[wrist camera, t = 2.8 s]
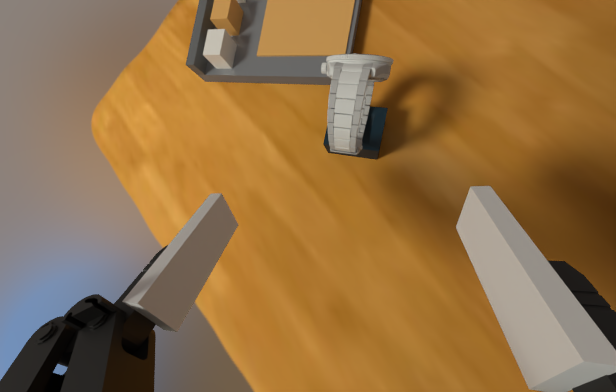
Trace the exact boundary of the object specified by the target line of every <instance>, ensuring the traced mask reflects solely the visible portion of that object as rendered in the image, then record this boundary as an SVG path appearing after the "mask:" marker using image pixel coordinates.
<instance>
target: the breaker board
mask: <svg viewBox="0 0 616 392" xmlns="http://www.w3.org/2000/svg"><path fill="white" fill-rule="evenodd" d="M361 3H362V0H199V5H198V10H197V14H196V19H195V24H194V28H193V33H192V38H191V43H190V47H189V52H188V57H187V61H186V65H187V66H188V67H189V68H190V69H191V70H193V71H194V72H195V73H196V74H197V75H198V76H200V77H201V78H202V79H203V80H204V81H206V82H243V83H280V84H317V85H331V80H332V79H331V78H329V77H328V76H327V74H322V73H321V65H322V63H328V62H327V61H326V59H327V57H328V56H331V55H339V54H353V48H354V42H355V37H356V31H357V25H358V20H359V14H360V9H361Z"/></svg>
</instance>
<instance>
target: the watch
mask: <svg viewBox="0 0 616 392" xmlns="http://www.w3.org/2000/svg"><path fill="white" fill-rule="evenodd" d="M326 61H327V62H328V63H322V65H321V73H322V74H327V76H328V77H329V78H331V79H332V80H331V86H330V94H329V102H328V117H327V121H328V125H327V130H326V134H325V139H324V146H325V148H326V149H327V151H328V153H334V154H341V155H348V156H355V157H362V158H370V159H377V158H378V153H379V149H380V144H381V139H382V134H383V129H384V124H385V119H386V114H387V109H388V108H381V107H370V103H371V98H372V92H373V86H374V82H382V81H385V80H387V79H388V77H389V75H390V69H391V65H392V64H393V59H391V58H388V57H384V56H378V55H369V54H357V53H354V54H339V55H331V56H328V57H327V59H326ZM337 98H339V99H337Z"/></svg>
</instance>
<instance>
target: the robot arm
mask: <svg viewBox="0 0 616 392" xmlns="http://www.w3.org/2000/svg"><path fill="white" fill-rule="evenodd" d="M237 226H238V223H237V221H236V220H235V218H234V216H233V214H232V212H231V210H230V208H229V206H228V205H227V203H226V201H225V199H224V197H223V195H222V193H221V194H210V195H209V197H208V198H207V199H206V200H205V201H204V203H203V204H202V205H201V206H200V208H199V209H198V210H197V211H196V212H195V214H194V215H193V216H192V217H191V218H190V220H189V221H188V222H187V223H186V225H185V226H184V227H183V228H182V229H181V231H180V232H179V233H178V234H177V235H176V237H175V238H174V239H173V240H172V242H171V243H170V244H169V245H167V246H165V247H164V248H163V249H162V250H161V251H159V252H158V253H157V254H156V255H155V256H154V257H153V259H152V260H151V261H150V263H149V264H148V265H147V266H146V267H145V268H144V269H143V272H141V273H140V274H139V275H138V277H137V278H136V279H135V280H134V281H133V282H132V284H131V285H130V286H129V287H128V288H127V290H126V291H125V292H124V293H123V294H122V295H121V297H120V298H119V299H118V300H117V301H116V302H115V303H114V304H112V303H111V302H109V301H108V300H106V299H105V298H103V297H102V296H100V295H99V294H98V295H91V296H88V297H86V298H84V299H82V300H81V301H79V302H78V303H77V304H75V305H74V306H73V307H72V308H71V309H70V310H69V311H68V312H67V313H66V314H65V315H64V317H63V316H62V317H57V318H55V319H53V320H51V321H49V322H47V323H46V324H44V325H43V326H41V327H40V328H39V329H38V330H37V331H36V332H35V333H34V334H33V335H32V336H31V338H30V339H29V340H28V341H27V343H26V344H25V346H24V347H23V349H22V350H21V352H20V353H19V355H18V356H17V358H16V359H15V360H14V362H13V363H12V365H11V366H10V368H9V369H8V371H7V372H6V374H5V375H4V376H3V378H2V379H1V381H0V392H154V370H155V332H154V330H153V328H154V326H155V325H157V326H159V327H160V328H162V329H163V330H169V331H175V332H177V331H178V330H179V328H180V326H181V324H182V322H183V321H184V319H185V317H186V315H187V314H188V312H189V310H190V309H191V307H192V305H193V303H194V302H195V300H196V298H197V296H198V295H199V293H200V291H201V289H202V288H203V286H204V284H205V282H206V281H207V279H208V277H209V275H210V274H211V272H212V270H213V268H214V267H215V265H216V263H217V261H218V260H219V258H220V256H221V254H222V253H223V251H224V249H225V247H226V246H227V244H228V242H229V240H230V239H231V237H232V235H233V233H234V232H235V230H236V228H237ZM456 229H457V231H458V233H459V236H460V238H461V240H462V242H463V244H464V247H465V249H466V251H467V253H468V256H469V258H470V260H471V262H472V264H473V267H474V269H475V271H476V273H477V275H478V278H479V280H480V282H481V284H482V286H483V289H484V291H485V293H486V295H487V297H488V300H489V302H490V304H491V306H492V308H493V311H494V313H495V315H496V317H497V319H498V322H499V324H500V326H501V328H502V330H503V333H504V335H505V337H506V339H507V341H508V344H509V346H510V348H511V350H512V352H513V355H514V357H515V359H516V361H517V363H518V366H519V368H520V370H521V372H522V374H523V377H524V379H525V381H526V383H527V385H528V388H529V389H532V390H538V391H544V392H567V391H570V390H573V391H574V392H616V312H615V311H614V310H611V308H610V307H611V306H610V305H609V304H608V303H607V302H606V301H605V299H604V298H603V297H602V296H600V295H599V294H598V291H597V290H596V289H595V288H594V287H593V285H592V284H591V283H590V282H589V281H588V280H587V278H586V277H585V276H584V275H583V274H581V273H580V272H578V271H577V270H576V269H574V268H573V267H571V266H570V265H569V264H567V263H566V262H565V261H547V260H546V258H545V257H544V256H543V254H542V253H541V252H540V251H539V249H538V248H537V247H536V245H535V244H534V243H533V241H532V240H531V239H530V237H529V236H528V235H527V233H526V232H525V231H524V230H523V228H522V227H521V226H520V224H519V223H518V222H517V220H516V219H515V218H514V216H513V215H512V214H511V213H510V211H509V210H508V209H507V207H506V206H505V205H504V203H503V202H502V201H501V199H500V198H499V197H498V196H497V194H496V193H495V192H494V190H493V189H492V188H491V186H471V187H470V189H469V192H468V195H467V198H466V200H465V203H464V206H463V209H462V212H461V214H460V217H459V220H458V223H457V226H456ZM57 364H60V365H63V366H66V367H68V368H67V371H66V372H65V373H64V374H63V375H59V374H55V373H53V371H54V369H55V367H56V365H57Z"/></svg>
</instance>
